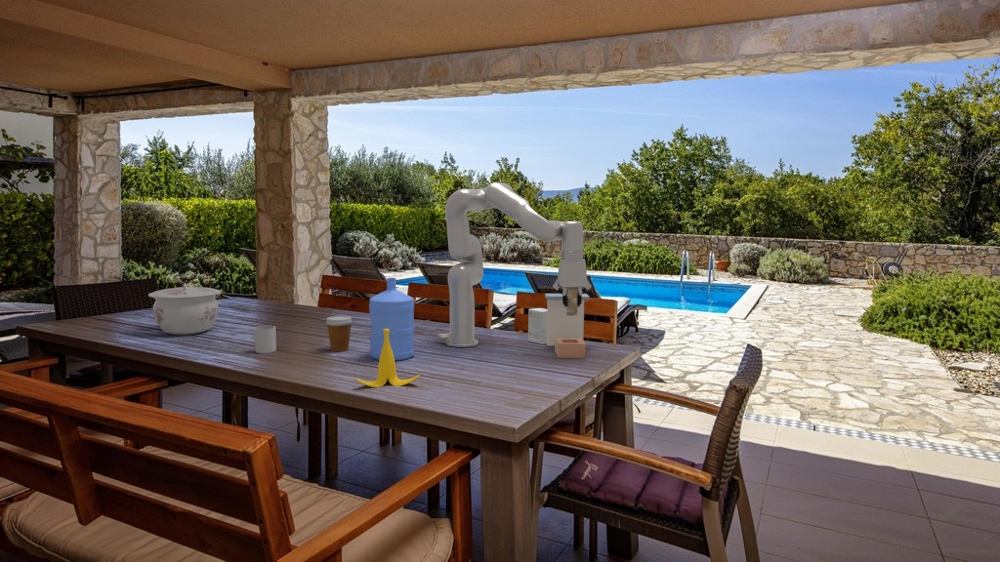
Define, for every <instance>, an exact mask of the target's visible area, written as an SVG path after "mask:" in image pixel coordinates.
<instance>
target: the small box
mask: <svg viewBox="0 0 1000 562" xmlns="http://www.w3.org/2000/svg"><path fill="white" fill-rule="evenodd" d="M527 321H528V326H527V327H528V330H527V333H528V335H527V341H528V342H531V343H535V344H540V345H544V344H545V345H547V308H543V307H538V308H537V307H536V308H535V307H534V308H528V320H527Z"/></svg>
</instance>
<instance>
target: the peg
mask: <svg viewBox="0 0 1000 562" xmlns="http://www.w3.org/2000/svg"><path fill="white" fill-rule="evenodd" d="M566 294H567V307H566V315H570V316H574V315H578V288H567V291H566Z"/></svg>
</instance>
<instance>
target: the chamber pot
mask: <svg viewBox="0 0 1000 562" xmlns="http://www.w3.org/2000/svg"><path fill="white" fill-rule="evenodd" d="M221 293H222V291H221V289H216V288H211V287H203V286H202V287H200V286H188V285H187V283H186V282H185V283H183V287H181V286H180V287H173V288H171V287H170V288H165V289H160V290H156V291H154V292H151V293H150V292H149V293H148V297H150V298H153V299H154V300H155V302H153V303H154V304H153V305H152V313H153V316H154V321H155V323H156V324H157V325H158V326H159V328H160V329H161V330H162V331H163V332H164V333H167V334H170V335H173V336H190V335H197V334H201V333H205V332H206V331H208V330H210V329H211V328H212V327H213V324H214V323H215V322H216V320H217V317H218V314H219V313H218V311H219V303H218V301H217V300H216V296H217V295H220V294H221Z"/></svg>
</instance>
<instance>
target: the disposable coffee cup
mask: <svg viewBox="0 0 1000 562" xmlns="http://www.w3.org/2000/svg"><path fill="white" fill-rule="evenodd" d="M352 322H353V320H352V317H351V316H347V315H334V316H328V317H327V318H326V320H325V323H326V325H327V331H328V333H327V334H328V337H329V345H330V346H329V347H330V351H332V352H345V351H348V350H349V346H350V338H351V337H350V336H351V328H352Z"/></svg>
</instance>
